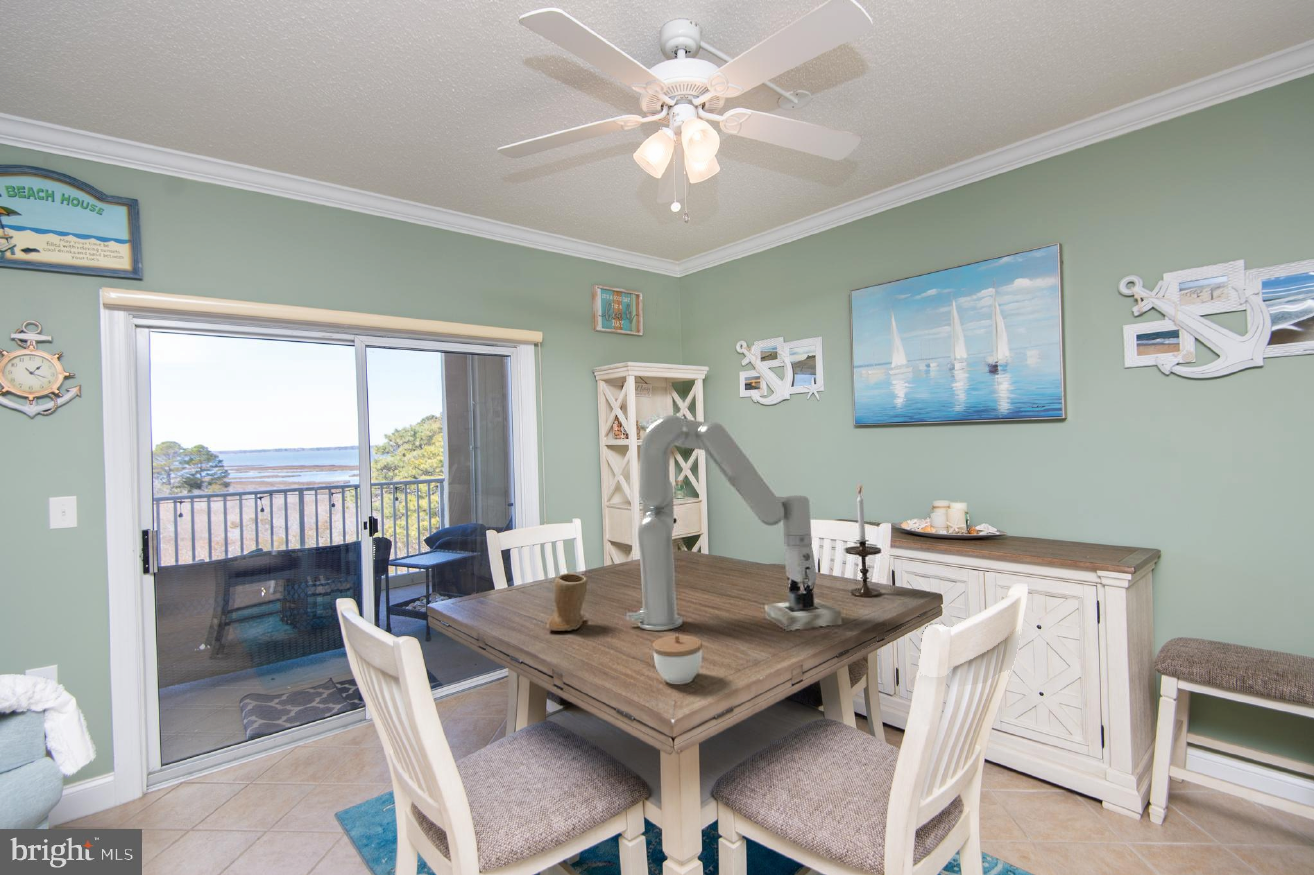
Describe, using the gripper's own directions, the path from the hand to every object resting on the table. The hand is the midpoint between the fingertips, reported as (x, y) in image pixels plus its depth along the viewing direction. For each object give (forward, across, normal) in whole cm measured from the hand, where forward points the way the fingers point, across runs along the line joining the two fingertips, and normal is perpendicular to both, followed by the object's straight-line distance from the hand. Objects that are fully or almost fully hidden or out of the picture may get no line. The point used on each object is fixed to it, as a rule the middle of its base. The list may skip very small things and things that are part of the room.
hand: (801, 603), depth 164 cm
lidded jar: (+5, -28, +43) cm, 52 cm away
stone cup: (+5, +21, +63) cm, 67 cm away
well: (+5, 0, 0) cm, 5 cm away
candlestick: (+5, +18, -31) cm, 36 cm away
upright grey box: (+5, 0, 0) cm, 5 cm away
